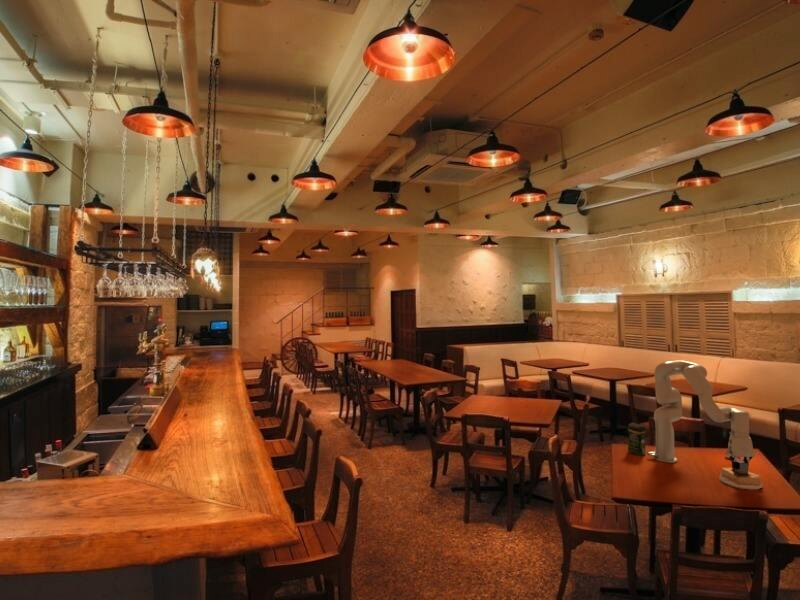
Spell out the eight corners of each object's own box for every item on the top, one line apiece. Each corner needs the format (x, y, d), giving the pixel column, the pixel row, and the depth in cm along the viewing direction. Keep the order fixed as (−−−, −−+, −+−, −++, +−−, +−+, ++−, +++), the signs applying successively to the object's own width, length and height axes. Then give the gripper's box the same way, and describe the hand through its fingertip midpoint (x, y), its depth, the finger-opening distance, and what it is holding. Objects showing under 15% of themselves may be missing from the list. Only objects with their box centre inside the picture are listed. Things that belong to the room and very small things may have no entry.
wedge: (740, 482, 235) (740, 463, 235) (732, 477, 241) (732, 459, 241) (748, 482, 235) (748, 463, 235) (740, 477, 241) (740, 459, 241)
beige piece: (734, 490, 230) (734, 479, 230) (711, 475, 248) (711, 465, 248) (771, 490, 229) (771, 479, 229) (745, 476, 247) (745, 466, 247)
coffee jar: (625, 452, 286) (625, 422, 286) (633, 450, 290) (633, 421, 290) (640, 456, 278) (639, 426, 278) (648, 454, 281) (647, 424, 281)
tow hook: (730, 456, 279) (723, 458, 274) (731, 435, 279) (723, 436, 274) (746, 460, 272) (739, 462, 267) (747, 438, 272) (739, 440, 267)
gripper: (728, 436, 235) (728, 471, 235) (762, 436, 234) (762, 471, 234) (718, 431, 242) (718, 465, 242) (751, 431, 241) (751, 466, 241)
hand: (740, 468), depth 238 cm, fingers open, 4 cm apart
